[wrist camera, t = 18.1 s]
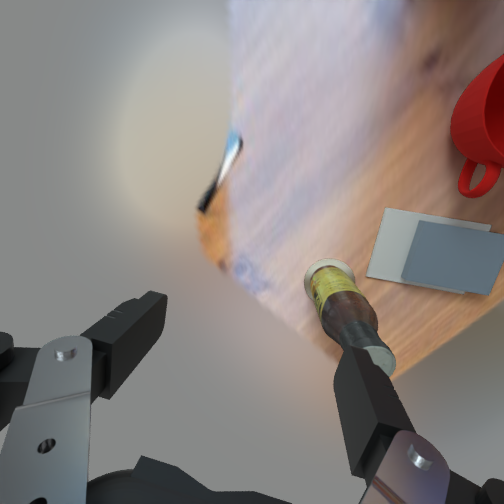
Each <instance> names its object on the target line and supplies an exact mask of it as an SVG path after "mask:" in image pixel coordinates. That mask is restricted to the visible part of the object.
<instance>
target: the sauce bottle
mask: <svg viewBox="0 0 504 504" xmlns="http://www.w3.org/2000/svg"><path fill="white" fill-rule="evenodd" d="M310 290H311V293H312V297H313V300H314V303H315V306H316V309H317V312H318V315H319V318H320V321H321V324H322V327H323V329H324V331H325V333H326V334H327V335H328V336H329V337H330V338H332V339H333V340H334V341H336V342H337V343H338V344H339V345H341V347H342V349H343V350H345V348H346V346H347V345H352V346H356V347H360V348H363V349H367V350H368V352H369V354H370V356H371V358H372V361H373V363H374V364H375V365H379V366H380V368H381V369H382V370H383V371H384V372H385V373H386V374H387V375H388V376H389V377H390V376H391V375H392V374H393V372H394V370H395V367H396V360H395V357H394V355H393V353H392V352H391V350H390V348H389V347H388V346H387V345H386V344H385V343H384V342H383V341H381V339H380V338H379V336H378V333H377V331H378V320H377V316H376V313H375V311H374V310H373V308H372V307H371V305H370V304H369V303H368V301H367V299H366V298H365V296H364V295H363V294H362V293H361V291H360V290H359V289H358V288H357V286H356V285H355V284H354V282H353V281H352V280H351V279H350V277H349V276H348V275H347V274H346V273H345V272H344V271H343V270H342V269H340V268H338V267H335V266H332V265H326V266H322V267H320V268H318V269H317V270H316V271H315V272H314V273H313V275H312V277H311V279H310Z"/></svg>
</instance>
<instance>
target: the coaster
mask: <svg viewBox="0 0 504 504" xmlns="http://www.w3.org/2000/svg"><path fill="white" fill-rule="evenodd" d="M326 265H332V266H335V267H338V268H340V269H342V270H343V271H344V272H345V273H346V274H347V275H348V276H349V277H350V279H351V280H352V281H353V282H354V284H355V277H354V274H353V272H352V270H351V269H350V268H349V266H348V265H346V264H345V263H344V262H342V261H340V260H337V259H323V260H320V261H318V262H316V263H314V264H313V265H312V266H311V267H310V268H309V269H308V271H307V273H306V275H305V279H304V285H305V290H306V292H307V294H308V296H309V297H310V298H311V299H312V300H313V297H312V293H311V290H310V279H311V277H312V275H313V273H314V272H315V271H316V270H317V269H318V268H320V267H322V266H326ZM313 301H314V300H313Z"/></svg>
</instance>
